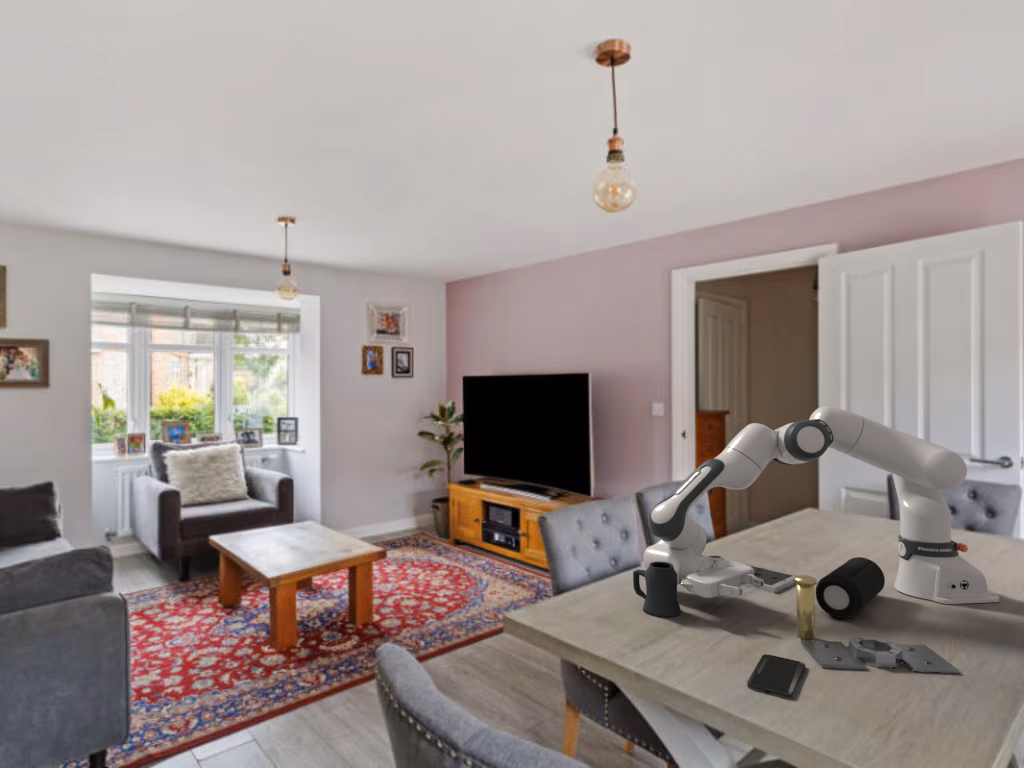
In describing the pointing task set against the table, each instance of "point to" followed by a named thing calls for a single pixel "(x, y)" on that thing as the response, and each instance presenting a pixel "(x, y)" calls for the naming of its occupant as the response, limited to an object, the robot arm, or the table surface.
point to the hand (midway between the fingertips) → (751, 588)
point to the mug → (659, 590)
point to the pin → (805, 606)
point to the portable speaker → (849, 587)
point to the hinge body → (876, 655)
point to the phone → (776, 676)
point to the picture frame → (771, 578)
